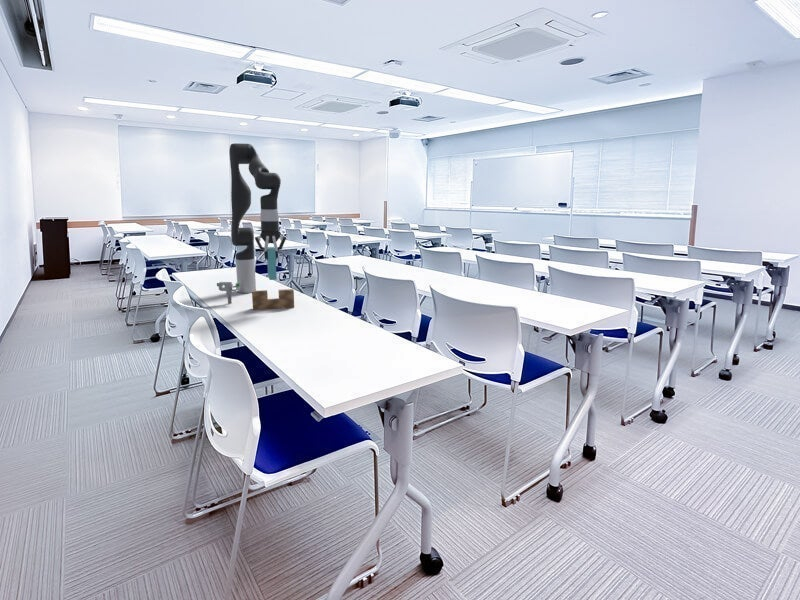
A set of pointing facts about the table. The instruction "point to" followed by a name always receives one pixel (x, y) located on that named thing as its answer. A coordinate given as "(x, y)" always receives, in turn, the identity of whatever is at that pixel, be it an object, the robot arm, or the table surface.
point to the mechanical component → (228, 288)
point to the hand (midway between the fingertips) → (271, 259)
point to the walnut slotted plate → (273, 300)
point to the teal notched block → (271, 263)
